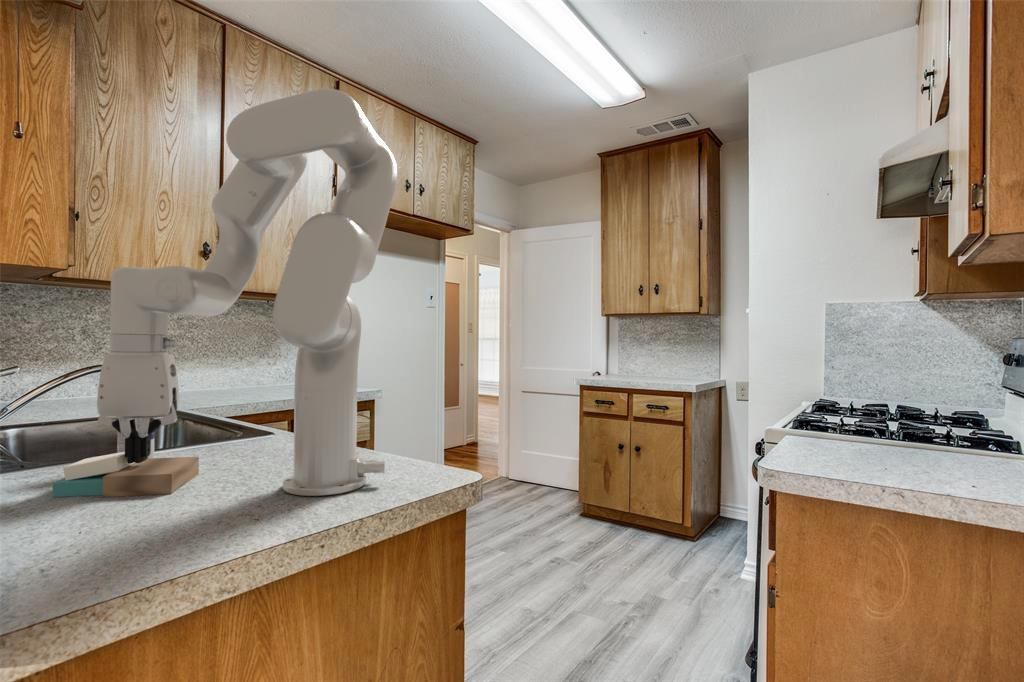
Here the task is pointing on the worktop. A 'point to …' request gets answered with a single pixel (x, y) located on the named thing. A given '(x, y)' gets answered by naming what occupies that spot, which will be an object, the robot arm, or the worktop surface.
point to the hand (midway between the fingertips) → (137, 461)
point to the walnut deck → (151, 477)
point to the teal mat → (79, 486)
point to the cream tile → (96, 466)
